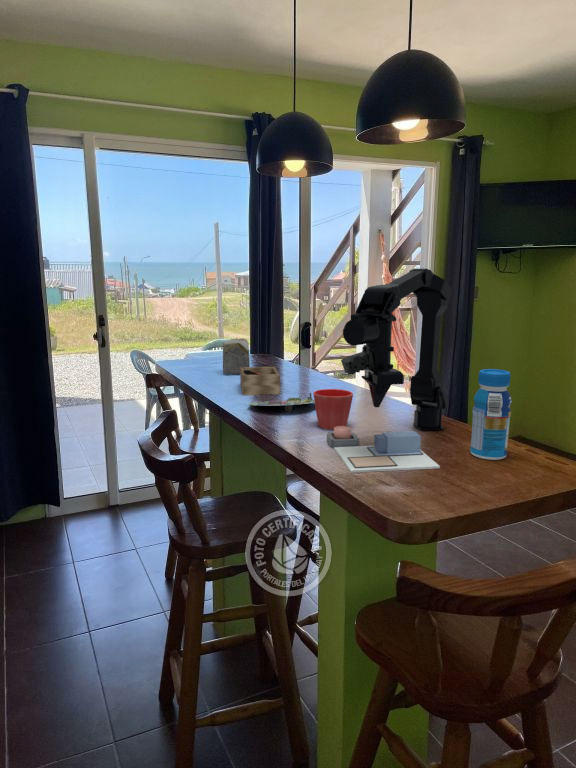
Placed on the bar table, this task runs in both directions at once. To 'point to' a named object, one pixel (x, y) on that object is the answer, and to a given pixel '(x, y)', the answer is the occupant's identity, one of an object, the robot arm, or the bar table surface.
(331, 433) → the button housing
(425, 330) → the robot arm
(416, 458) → the white sorting board
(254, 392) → the open wooden box
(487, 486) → the bar table surface
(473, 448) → the beverage bottle
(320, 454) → the bar table surface
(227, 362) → the geological specimen
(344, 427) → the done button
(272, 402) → the city model
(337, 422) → the flower pot
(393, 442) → the blue paint stick
